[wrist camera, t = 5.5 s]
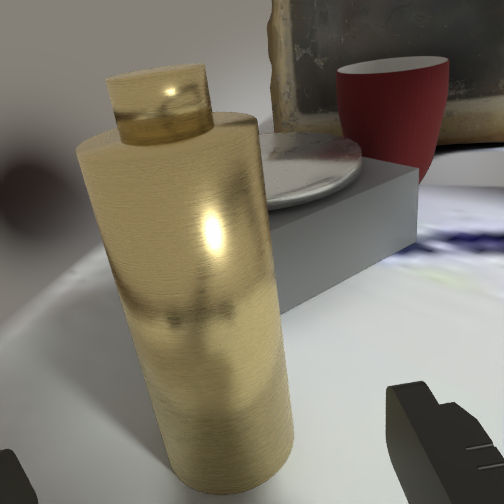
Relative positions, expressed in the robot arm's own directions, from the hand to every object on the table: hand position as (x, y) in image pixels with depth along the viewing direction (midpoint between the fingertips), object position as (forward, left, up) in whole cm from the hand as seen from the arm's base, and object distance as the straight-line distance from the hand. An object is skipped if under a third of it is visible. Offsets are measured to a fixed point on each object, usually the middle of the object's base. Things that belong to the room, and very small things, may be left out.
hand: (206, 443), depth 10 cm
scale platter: (-14, -17, -1) cm, 22 cm away
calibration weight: (-3, -5, -7) cm, 9 cm away
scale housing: (-14, -17, -7) cm, 23 cm away
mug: (-28, -18, -7) cm, 34 cm away
